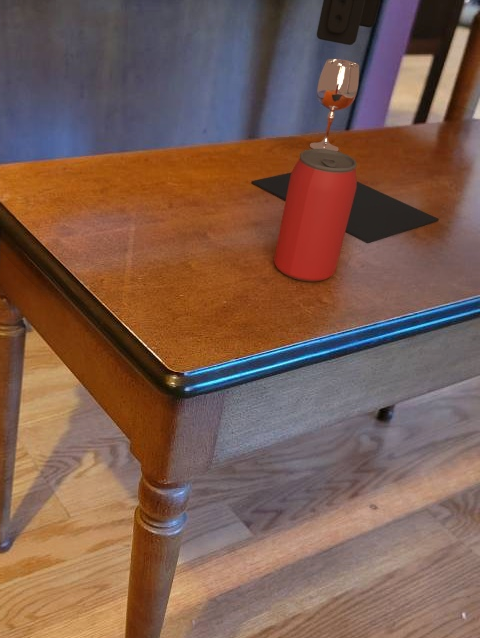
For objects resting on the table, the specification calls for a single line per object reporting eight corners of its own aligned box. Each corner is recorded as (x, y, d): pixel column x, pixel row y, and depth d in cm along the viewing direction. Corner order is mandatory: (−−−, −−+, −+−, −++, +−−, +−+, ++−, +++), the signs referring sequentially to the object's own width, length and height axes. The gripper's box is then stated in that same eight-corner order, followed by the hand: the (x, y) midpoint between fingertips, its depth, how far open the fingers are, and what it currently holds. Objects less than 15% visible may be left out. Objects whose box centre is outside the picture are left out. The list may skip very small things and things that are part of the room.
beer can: (276, 281, 76) (299, 167, 69) (269, 253, 81) (290, 143, 74) (339, 287, 77) (368, 173, 69) (328, 258, 82) (355, 150, 75)
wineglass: (318, 155, 110) (337, 68, 102) (298, 141, 114) (314, 57, 106) (350, 153, 112) (370, 68, 104) (329, 140, 116) (347, 57, 108)
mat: (438, 221, 94) (439, 218, 94) (367, 243, 86) (368, 240, 86) (322, 167, 105) (322, 165, 105) (251, 183, 98) (251, 180, 98)
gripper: (445, -232, 47) (373, 58, 57) (463, -206, 60) (402, 26, 70) (330, -244, 49) (279, 40, 59) (372, -216, 62) (325, 12, 72)
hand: (346, 32), depth 65 cm, fingers open, 9 cm apart
